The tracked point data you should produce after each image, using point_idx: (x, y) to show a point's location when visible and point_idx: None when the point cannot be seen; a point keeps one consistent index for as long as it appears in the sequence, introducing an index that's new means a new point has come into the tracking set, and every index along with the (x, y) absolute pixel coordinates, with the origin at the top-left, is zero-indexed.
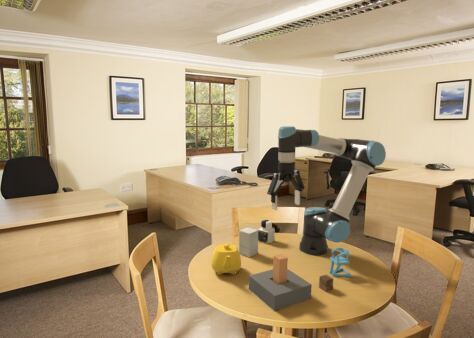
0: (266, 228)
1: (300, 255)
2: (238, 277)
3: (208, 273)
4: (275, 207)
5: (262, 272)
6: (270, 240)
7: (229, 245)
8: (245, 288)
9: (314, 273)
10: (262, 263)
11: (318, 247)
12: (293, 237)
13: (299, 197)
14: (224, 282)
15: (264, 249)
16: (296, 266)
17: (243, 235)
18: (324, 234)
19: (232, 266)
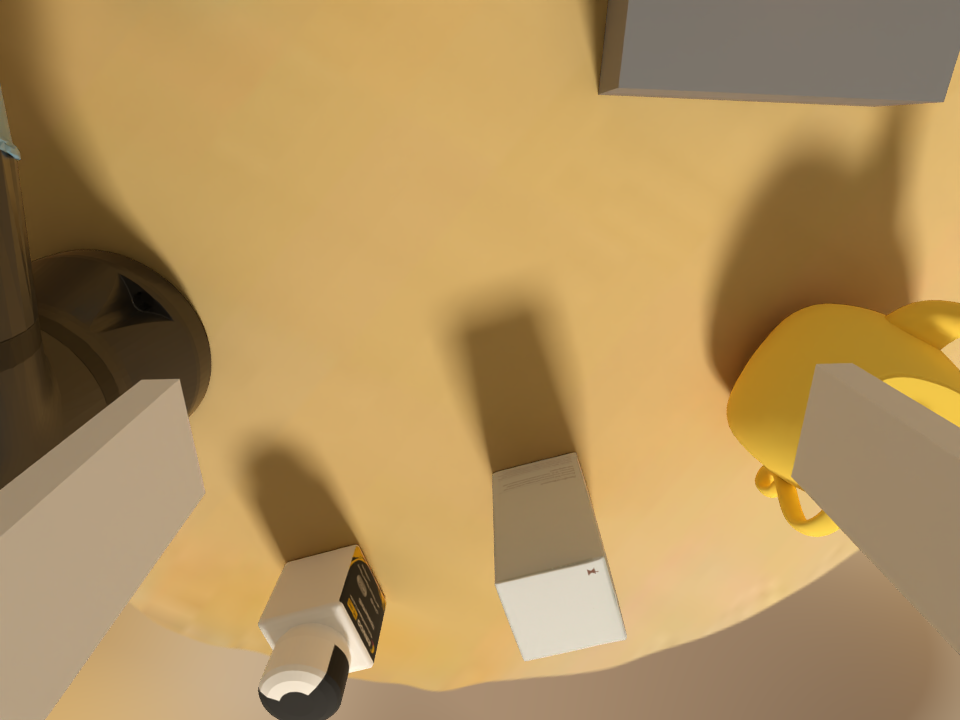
0: (330, 639)
1: (259, 318)
2: (813, 268)
3: None
4: (892, 401)
5: (827, 90)
6: (324, 561)
7: None
8: (884, 124)
9: (346, 40)
10: (561, 347)
11: (98, 279)
12: None
13: (30, 481)
14: (923, 258)
15: (421, 494)
16: (392, 199)
17: (613, 584)
18: (7, 167)
19: (878, 315)
